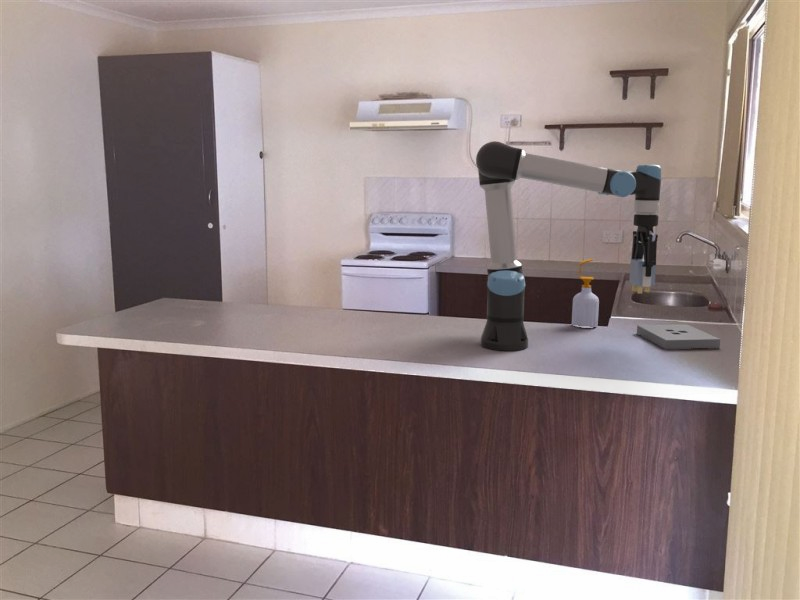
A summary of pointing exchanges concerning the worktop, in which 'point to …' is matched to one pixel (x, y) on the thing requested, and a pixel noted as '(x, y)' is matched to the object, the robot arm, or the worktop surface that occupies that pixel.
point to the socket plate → (678, 336)
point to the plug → (639, 275)
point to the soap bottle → (585, 304)
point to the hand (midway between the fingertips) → (641, 284)
